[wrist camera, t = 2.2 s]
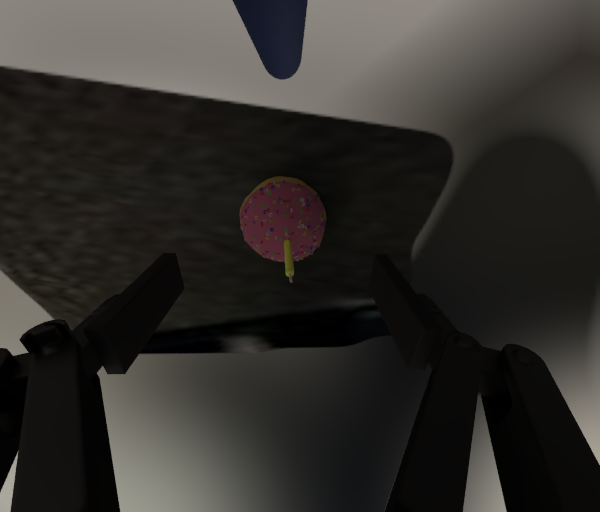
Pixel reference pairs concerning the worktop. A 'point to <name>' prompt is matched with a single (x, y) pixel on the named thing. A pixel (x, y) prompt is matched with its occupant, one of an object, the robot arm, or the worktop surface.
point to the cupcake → (283, 220)
